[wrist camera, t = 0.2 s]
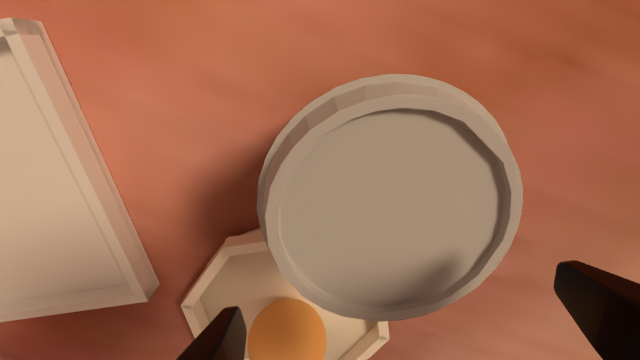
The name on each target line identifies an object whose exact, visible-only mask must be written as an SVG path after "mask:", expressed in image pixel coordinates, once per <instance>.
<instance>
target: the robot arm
mask: <svg viewBox="0 0 640 360" xmlns="http://www.w3.org/2000/svg"><path fill="white" fill-rule="evenodd" d="M554 290H555V293H556V295H557V296H558V298H559V299H560V300H561V302H562V303H563V305H564V306H565V308H566V309H567V311H568V312H569V313H570V315H571V316H572V318H573V319H574V321H575V322H576V324H577V325H578V326H579V328H580V329H581V331H582V332H583V334H584V335H585V336H586V338H587V339H588V341H589V342H590V343H591V345H592V346H593V347H594V349H595V350H596V351H597V353H598V354H599V355H600V356H601V358H602V359H603V360H640V284H639V283H636V282H633V281H630V280H628V279H625V278H622V277H620V276H617V275H614V274H612V273H609V272H606V271H604V270H601V269H598V268H595V267H593V266H590V265H587V264H585V263H582V262H579V261H575V260H572V261H565V262H560V263H559V264H558V265H557V268H556V274H555V280H554ZM246 338H247V329H246V325H245V321H244V318H243V315H242V312H241V309H240V308H239V307H238V306H231V307H226V308H224V309H222V310H221V312H220V313H219V314H218V315H217V316H216V317H215V318H214V319H213V320H212V321H211V322H210V323H209V324H208V326H207V327H206V328H205V329H204V330H203V331H202V332H201V333H200V334H199V335H198V336H197V337H196V338H195V340H194V341H193V342H192V343H191V344H190V345H189V346H188V347H187V348H186V349H185V350H184V351H183V352H182V354H181V355H180V356H179V357H178V358H177V359H176V360H244V357H245V347H246Z"/></svg>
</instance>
